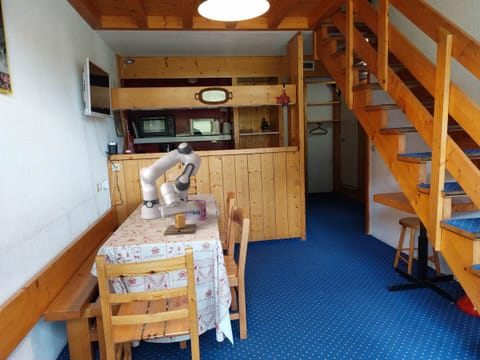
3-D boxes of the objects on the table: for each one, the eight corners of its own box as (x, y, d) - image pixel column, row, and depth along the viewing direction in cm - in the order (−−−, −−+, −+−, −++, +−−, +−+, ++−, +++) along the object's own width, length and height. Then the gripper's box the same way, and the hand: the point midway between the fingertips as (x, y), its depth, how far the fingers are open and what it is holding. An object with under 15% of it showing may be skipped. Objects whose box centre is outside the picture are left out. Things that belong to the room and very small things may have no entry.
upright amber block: (175, 226, 208) (174, 214, 207) (182, 225, 211) (181, 213, 210) (178, 228, 204) (177, 216, 203) (185, 226, 207) (184, 214, 206)
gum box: (208, 218, 237) (207, 200, 235) (203, 221, 230) (202, 202, 228) (181, 216, 246) (179, 199, 244) (175, 219, 239) (173, 201, 237)
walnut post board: (169, 227, 217) (168, 217, 216) (195, 225, 217) (195, 215, 216) (164, 235, 199) (163, 224, 198) (193, 233, 199) (192, 222, 198)
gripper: (159, 203, 205) (166, 220, 199) (187, 198, 217) (195, 214, 210) (156, 208, 209) (164, 226, 203) (185, 203, 221) (192, 220, 215)
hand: (180, 220), depth 207 cm, fingers closed on upright amber block, 5 cm apart
